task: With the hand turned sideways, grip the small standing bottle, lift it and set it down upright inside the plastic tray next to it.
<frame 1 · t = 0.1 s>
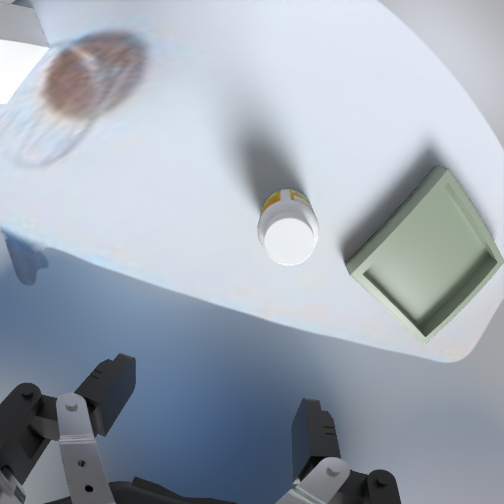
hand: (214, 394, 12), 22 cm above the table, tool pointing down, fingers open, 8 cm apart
supplement bottle: (287, 212, 32), on the table
milk: (18, 54, 26), on the table
tray: (429, 258, 32), on the table
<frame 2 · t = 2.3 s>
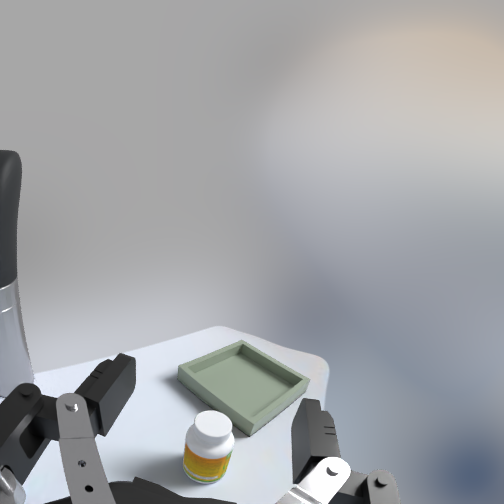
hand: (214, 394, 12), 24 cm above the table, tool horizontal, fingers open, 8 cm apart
supplement bottle: (204, 468, 29), on the table
tray: (243, 388, 47), on the table
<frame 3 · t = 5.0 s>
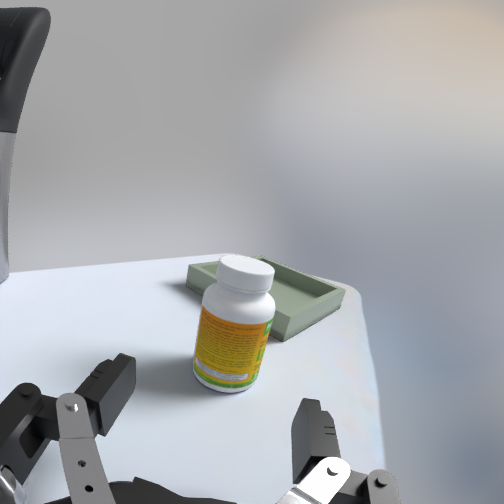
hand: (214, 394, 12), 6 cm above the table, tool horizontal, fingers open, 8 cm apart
supplement bottle: (223, 375, 23), on the table
tray: (267, 298, 41), on the table
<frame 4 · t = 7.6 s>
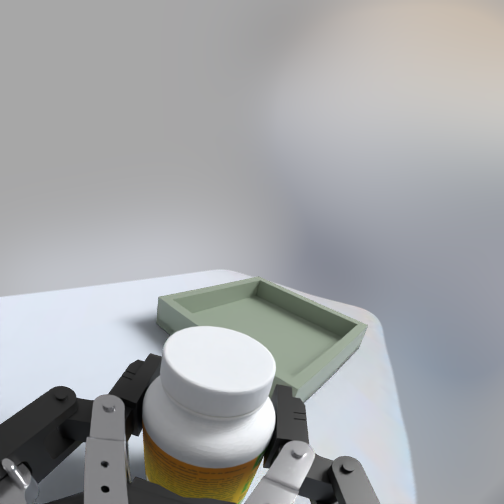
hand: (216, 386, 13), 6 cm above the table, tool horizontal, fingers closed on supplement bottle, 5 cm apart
supplement bottle: (195, 486, 12), on the table, touching gripper
tray: (265, 340, 30), on the table
when the fingers open (8 cm above the table, at t = 13.1 s): supplement bottle drops 1 cm, resting on tray.
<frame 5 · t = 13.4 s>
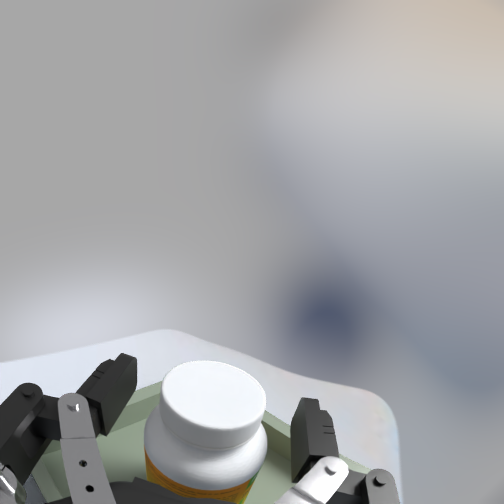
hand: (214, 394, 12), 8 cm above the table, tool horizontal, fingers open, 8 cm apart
supplement bottle: (194, 500, 12), point 1 cm above the table, touching tray
tray: (192, 501, 13), on the table
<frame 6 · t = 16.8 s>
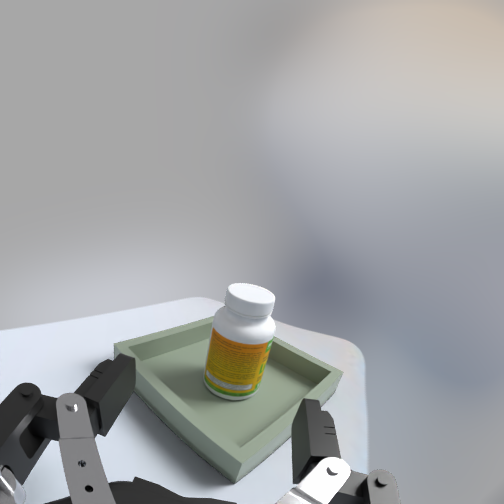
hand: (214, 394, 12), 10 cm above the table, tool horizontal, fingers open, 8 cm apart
supplement bottle: (230, 384, 26), point 1 cm above the table, touching tray
tray: (228, 388, 27), on the table
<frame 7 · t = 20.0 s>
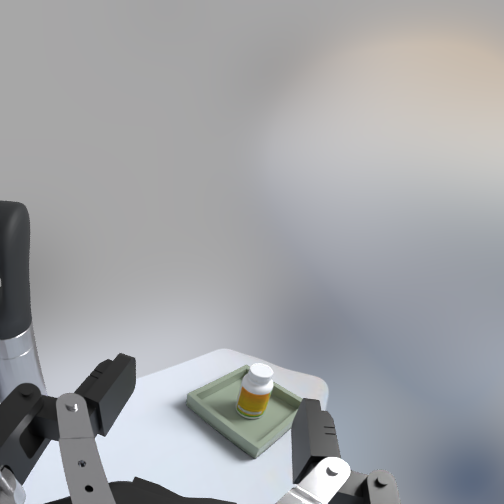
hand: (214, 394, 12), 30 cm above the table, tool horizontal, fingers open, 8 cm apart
supplement bottle: (249, 410, 48), point 1 cm above the table, touching tray
tray: (248, 412, 49), on the table
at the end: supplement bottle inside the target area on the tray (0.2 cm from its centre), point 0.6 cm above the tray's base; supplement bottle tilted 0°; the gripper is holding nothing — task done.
